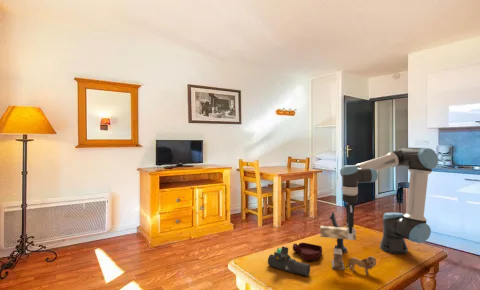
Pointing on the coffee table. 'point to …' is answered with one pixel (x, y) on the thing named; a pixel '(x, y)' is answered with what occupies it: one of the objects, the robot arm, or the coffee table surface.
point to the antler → (339, 241)
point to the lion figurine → (362, 263)
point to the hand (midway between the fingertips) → (349, 237)
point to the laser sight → (288, 263)
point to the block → (336, 232)
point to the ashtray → (308, 251)
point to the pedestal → (337, 260)
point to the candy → (280, 251)
